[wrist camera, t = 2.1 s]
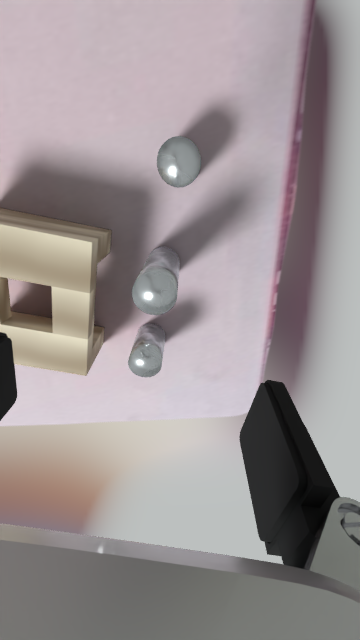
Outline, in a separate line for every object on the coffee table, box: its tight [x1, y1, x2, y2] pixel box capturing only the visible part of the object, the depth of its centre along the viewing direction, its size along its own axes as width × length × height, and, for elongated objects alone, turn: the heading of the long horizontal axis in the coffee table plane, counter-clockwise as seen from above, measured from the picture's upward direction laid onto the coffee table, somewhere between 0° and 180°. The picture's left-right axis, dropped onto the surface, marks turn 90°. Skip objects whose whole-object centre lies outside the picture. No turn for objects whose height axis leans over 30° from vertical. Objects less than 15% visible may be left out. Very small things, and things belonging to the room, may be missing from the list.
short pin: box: [157, 136, 201, 187], centre depth 20 cm, size 3×3×4 cm
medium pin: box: [128, 323, 165, 377], centre depth 26 cm, size 3×3×5 cm
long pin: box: [132, 247, 180, 315], centre depth 21 cm, size 3×3×8 cm
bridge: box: [0, 208, 112, 376], centre depth 24 cm, size 12×10×6 cm
